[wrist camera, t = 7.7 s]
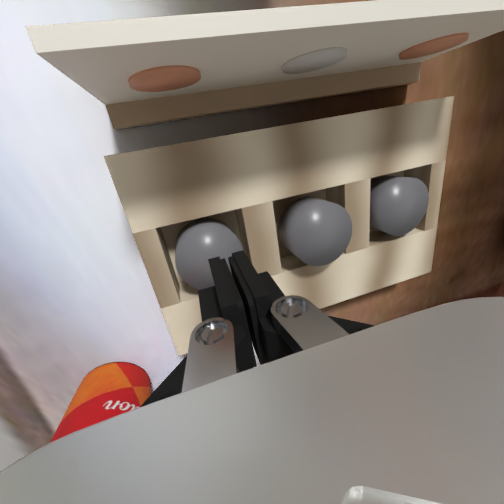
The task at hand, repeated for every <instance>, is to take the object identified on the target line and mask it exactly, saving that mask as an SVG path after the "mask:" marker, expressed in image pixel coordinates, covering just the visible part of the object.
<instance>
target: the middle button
mask: <svg viewBox="0 0 504 504" xmlns="http://www.w3.org/2000/svg"><path fill="white" fill-rule="evenodd" d="M351 236H352V221H351V218H350V215H349V213H348V212H347V211H346V210H345V209H344V208H343V207H342V206H340V205H338V204H336V203H332V202H329V201H325V200H322V199H318V198H315V197H303V198H300V199H298V200H296V201H294V202H293V203H291V204H290V205H289V206H288V207H287V208H286V210H285V211H284V213H283V214H282V217H281V219H280V222H279V237H280V240H281V242H282V244H283V245H284V246H285V247H286V248H287V249H288V250H289V251H290V252H292V253H293V254H294V255H295V256H296V257H298V258H299V259H300V260H301V261H303V262H304V263H306V264H308V265H311V266H323V265H327V264H329V263H331V262H333V261H335V260H336V259H337V258H339V257H340V256H341V255H342V254H343V252H344V251H345V250H346V248H347V246H348V244H349V242H350V240H351Z"/></svg>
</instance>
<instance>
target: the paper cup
mask: <svg viewBox="0 0 504 504" xmlns="http://www.w3.org/2000/svg"><path fill="white" fill-rule="evenodd" d="M150 395H151V386H150V378H149V376H148V374H147V373H146V371H145V370H144V369H142V368H141V367H139V366H137V365H135V364H132V363H128V362H112V363H107V364H104V365H101V366H99V367H97V368H95V369H93V370H92V371H91V372H89V373H88V374H87V375H86V377H85V378H84V379H83V381H82V382H81V384H80V386H79V388H78V389H77V391H76V393H75V395H74V397H73V399H72V401H71V403H70V405H69V407H68V409H67V411H66V413H65V415H64V417H63V419H62V421H61V422H60V424H59V426H58V428H57V430H56V432H55V434H54V436H53V438H52V440H51V442H53V441H55V440H58V439H60V438H62V437H64V436H66V435H69V434H71V433H73V432H75V431H78V430H81V429H83V428H86V427H88V426H91V425H94V424H96V423H99V422H102V421H104V420H107V419H109V418H112V417H115V416H117V415H120V414H122V413H125V412H128V411H131V410H134V409H137V408H140V406H141V405H142V404H143V403H144V402H145V401H146V400H147V398H148V397H149V396H150ZM51 442H50V443H51Z"/></svg>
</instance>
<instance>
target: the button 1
mask: <svg viewBox="0 0 504 504" xmlns="http://www.w3.org/2000/svg"><path fill="white" fill-rule="evenodd" d="M242 250H243V247H242V244H241V242H240V241H239V239H238V238H237V237H236V235H235V234H234V233H233V232H232V230H231V229H230V228H229V227H228V226H227V225H226V224H225V223H223V222H222V221H220V220H217V219H214V218H199V219H196V220H193V221H191V222H190V223H188V224H187V225H185V226H184V227H183V228H182V230H181V231H180V232H179V234H178V236H177V239H176V243H175V264H176V269H177V271H178V274H179V275H180V277H181V278H182V279H183V281H185V282H186V283H187V284H188V285H190V286H192V287H193V288H196V289H200V290H201V289H204V288H208V287H211V286H215V284H214V281H213V277H212V273H211V269H210V265H209V261H208V259H211V258H215V257H220V259H223V258H225V260H226V263H227V265H228V267H229V270H230V272H231V269H230V265H229V260H228V257H231V256H232V253H234V252H238V251H242ZM243 251H244V250H243Z"/></svg>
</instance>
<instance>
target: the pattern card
mask: <svg viewBox="0 0 504 504" xmlns="http://www.w3.org/2000/svg"><path fill="white" fill-rule="evenodd" d="M26 30H27V32H28V35H29V37H30V40H31V42H32V44H33V47H34V49H35V52H36V53H37V54H38V55H39V56H41V57H42V58H43V59H45V60H46V61H47V62H49V63H50V64H51V65H53V66H54V67H55V68H57V69H58V70H59V71H61V72H62V73H64V74H65V75H66V76H68V77H69V78H70V79H72V80H73V81H74V82H76V83H77V84H78V85H80V86H81V87H82V88H84V89H85V90H86V91H88V92H89V93H90V94H92V95H93V96H94V97H96V98H97V99H98V100H100V101H101V102H102V103H104V104H105V105H106V108H107V111H108V114H109V117H110V119H111V122H112V125H113V128H115V129H117V130H118V129H124V128H131V127H137V126H143V125H150V124H156V123H163V122H169V121H176V120H182V119H189V118H195V117H202V116H208V115H215V114H221V113H228V112H234V111H241V110H247V109H254V108H260V107H267V106H273V105H280V104H286V103H292V102H299V101H305V100H312V99H318V98H325V97H331V96H338V95H344V94H351V93H357V92H364V91H370V90H377V89H383V88H390V87H396V86H403V85H409V84H412V83H415V82H418V81H419V76H420V63H421V62H423V61H425V60H428V59H430V58H433V57H436V56H438V55H441V54H443V53H446V52H449V51H451V50H454V49H456V48H459V47H462V46H464V45H467V44H469V43H472V42H475V41H477V40H480V39H482V38H485V37H488V36H490V35H493V34H495V33H498V32H501V31H503V30H504V0H376V1H363V2H349V3H336V4H322V5H309V6H295V7H282V8H268V9H255V10H241V11H228V12H214V13H201V14H187V15H174V16H161V17H147V18H134V19H120V20H107V21H93V22H80V23H66V24H53V25H39V26H26Z"/></svg>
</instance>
